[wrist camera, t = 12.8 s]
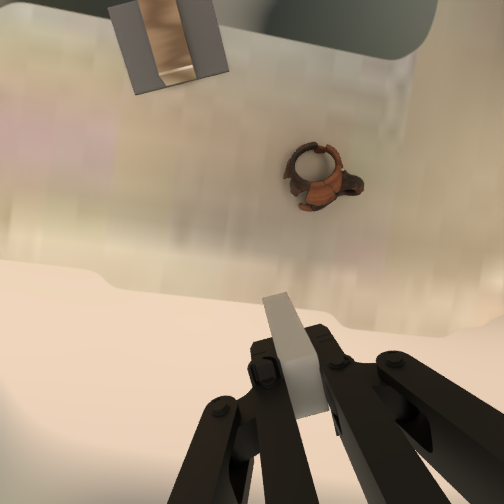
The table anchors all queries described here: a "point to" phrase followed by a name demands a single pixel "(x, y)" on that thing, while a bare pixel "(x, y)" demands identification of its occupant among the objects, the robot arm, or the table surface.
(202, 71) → the rubber mat
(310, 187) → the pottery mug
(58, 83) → the table surface
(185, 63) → the walnut block
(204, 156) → the table surface
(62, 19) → the table surface
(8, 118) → the table surface
